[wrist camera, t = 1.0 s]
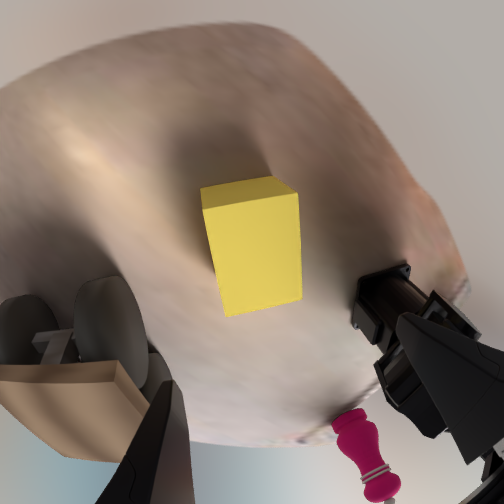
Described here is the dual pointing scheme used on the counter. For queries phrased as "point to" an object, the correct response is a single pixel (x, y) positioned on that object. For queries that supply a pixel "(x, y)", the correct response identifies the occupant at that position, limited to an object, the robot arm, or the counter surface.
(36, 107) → the counter surface
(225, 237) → the block
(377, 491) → the pepper mill
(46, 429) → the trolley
